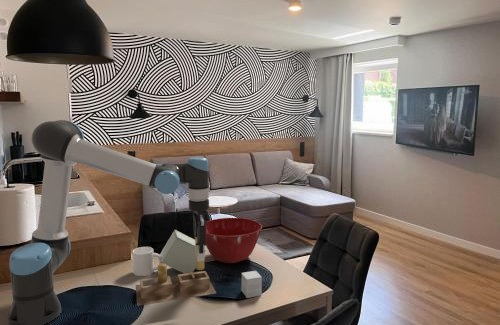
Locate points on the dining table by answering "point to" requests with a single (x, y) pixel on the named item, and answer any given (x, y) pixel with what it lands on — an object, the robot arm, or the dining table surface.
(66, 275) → the dining table surface
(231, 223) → the mixing bowl
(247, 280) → the skincare box
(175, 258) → the tray
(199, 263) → the pin
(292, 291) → the dining table surface
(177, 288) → the brown wooden compartment tray
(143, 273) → the mug
